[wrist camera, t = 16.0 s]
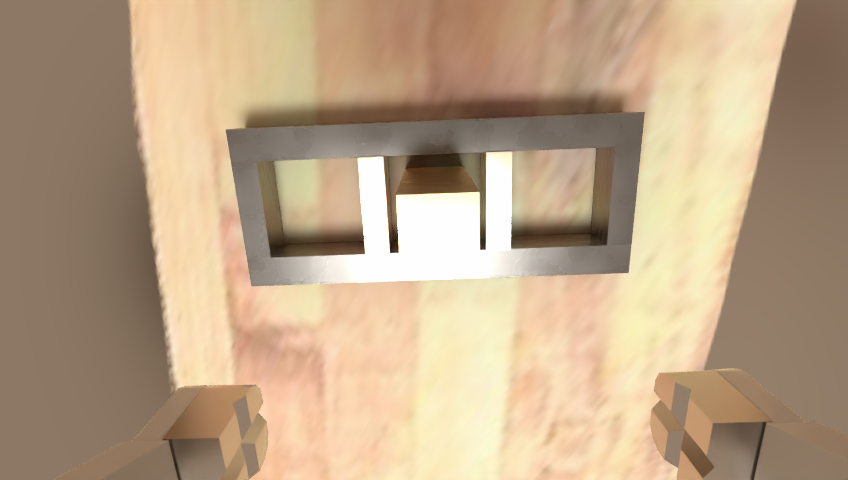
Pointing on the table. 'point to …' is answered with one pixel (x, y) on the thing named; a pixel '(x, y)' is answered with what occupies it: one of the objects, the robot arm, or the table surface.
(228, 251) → the table surface
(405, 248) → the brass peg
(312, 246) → the grey compartment tray
